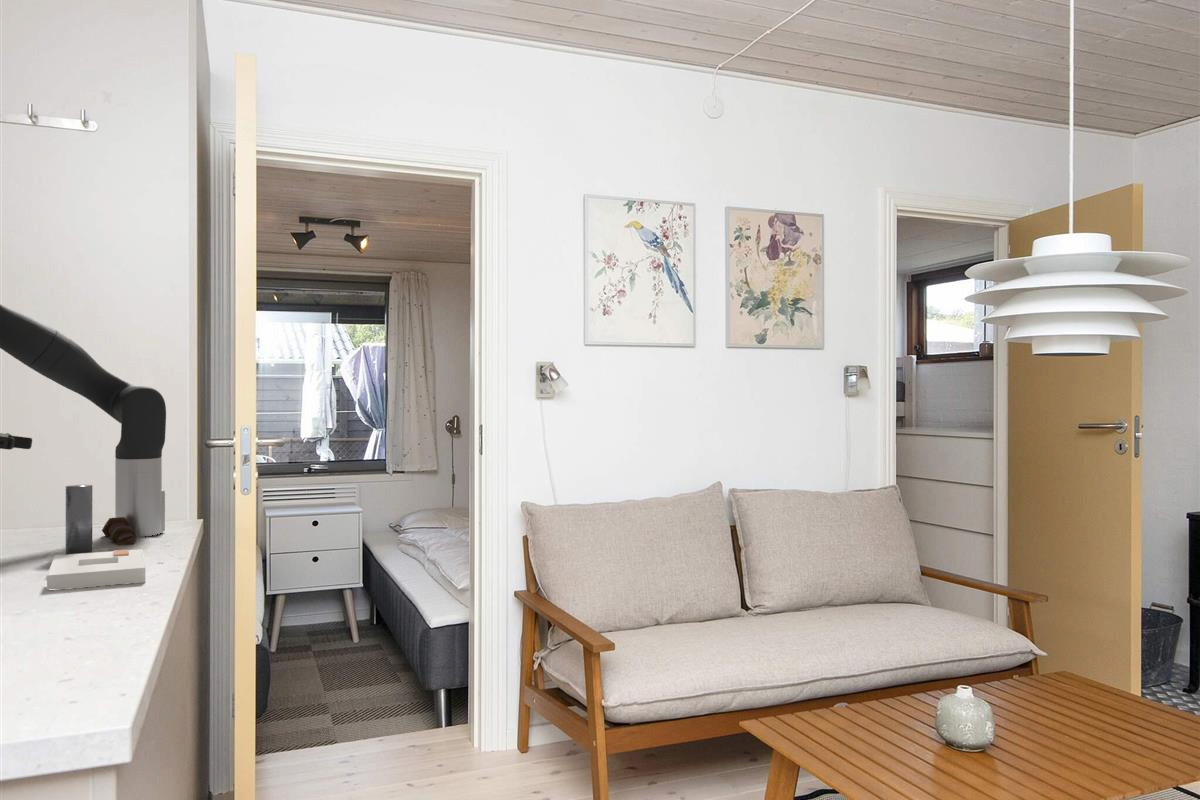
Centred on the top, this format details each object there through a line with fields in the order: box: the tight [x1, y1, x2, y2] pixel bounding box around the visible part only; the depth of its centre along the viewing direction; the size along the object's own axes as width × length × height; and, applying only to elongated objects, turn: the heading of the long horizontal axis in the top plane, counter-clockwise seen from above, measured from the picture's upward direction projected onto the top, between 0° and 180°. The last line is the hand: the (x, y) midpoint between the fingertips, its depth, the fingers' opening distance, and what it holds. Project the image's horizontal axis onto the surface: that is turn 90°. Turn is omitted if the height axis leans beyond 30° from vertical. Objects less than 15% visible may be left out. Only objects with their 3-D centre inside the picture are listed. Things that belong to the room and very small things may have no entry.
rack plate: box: [46, 548, 146, 591], centre depth 153 cm, size 20×14×3 cm
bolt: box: [101, 517, 138, 546], centre depth 185 cm, size 6×5×15 cm
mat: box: [46, 547, 110, 562], centre depth 168 cm, size 10×10×1 cm
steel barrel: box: [65, 484, 93, 555], centre depth 168 cm, size 4×4×13 cm
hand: (22, 443), depth 167 cm, fingers open, 8 cm apart
